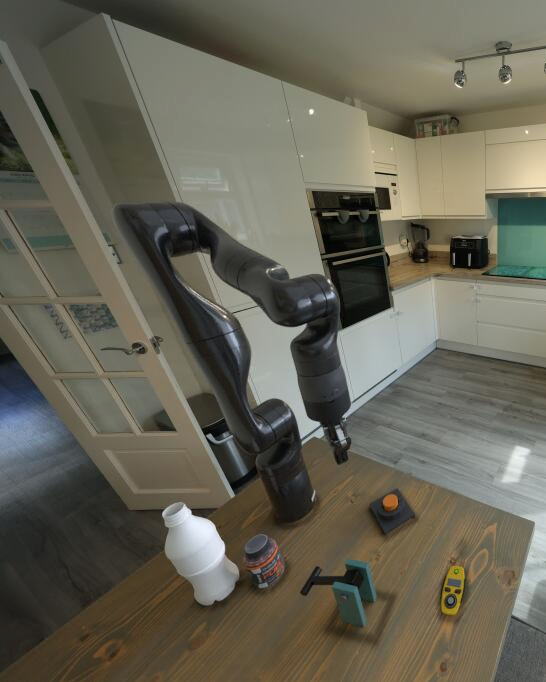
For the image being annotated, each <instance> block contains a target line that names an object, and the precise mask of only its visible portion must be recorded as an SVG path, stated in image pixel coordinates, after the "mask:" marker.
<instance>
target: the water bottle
mask: <svg viewBox="0 0 546 682" xmlns="http://www.w3.org/2000/svg"><path fill="white" fill-rule="evenodd" d="M161 516H162V518H163V521H164V526H165V527H166V528H168V532H167V534H166V535H167V536H166V539H165V543H164V553H165V556H166V558H167V559H168V560H170V562H171V564H172V565H173V567H174V568H175V569H176V572H177V574H178V575H180V576H182V577H183V578H184V579H186V580H187V581H188V582H189V583H190V584H191V586H192V587H193V590H194V593H193V598H194V599H195V601H196V602H197V603H198V604H200V605H202V606H212V605H213V604H214V603H215V601H217V602H221V601H223V600H224V599H226V598H227V597H228V596H229V595H231V593H232V592H233V591H234V590H235V587H236V582H239V580H240V570H239V568H238V565H237V564H236V563H234V562H232V561H231V560H230V559H229V558H228V557H227V555H226V544H225V542H224V540H222V538H221V536H220V535H219V532H218V530H217V528H216V525H215V524H214V522H212V521H211V520H210V519H208V518H205V517H201V516H197V515H193V514H192V510H191V509H190V508H188V507H187V505H186V503H184V502H182V501H179V502H175V503H173V504H170V505H169V506H167V507H166V508H165V509H163V511H162V512H161Z"/></svg>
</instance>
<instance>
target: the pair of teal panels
mask: <svg viewBox="0 0 546 682" xmlns="http://www.w3.org/2000/svg"><path fill="white" fill-rule="evenodd" d="M344 567H345V570H346V571H347V570H359V571H360V573H361V574H362V576H363V577H364V580H363V582H362V584H361V586H360V588H359V590H358V588H357V587H356V586H352V585H348V584H344V583H339V582H334V584H333V585H331V591H332V592H333V595H334V596H333V597H334V599H335V602H336V606H337V608H338V611H339V614H340V617H341V619H342V622H343V623H346V624H349V625H350V624H351V625H354V626H358V627H362V628H364V627H365V626H366V624H367V617H366V614H365V613H366V612H365V610H364V606H363V603H362V600H363V601H366V602H369V603H375V602H376V600H377V598H378V596H377V592H376V587H375V584H374V579H373V575H372V572H371V566H370V563H369V562H366V561H361V560H358V559H352V558H347V559H346V560H345V562H344Z"/></svg>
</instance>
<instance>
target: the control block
mask: <svg viewBox="0 0 546 682" xmlns="http://www.w3.org/2000/svg"><path fill="white" fill-rule="evenodd" d="M390 494H394V495H396V496H397V499H398V506H397V508H396V509H395V510H393V511H386V510H385V509H384V506H383V500H384V498H385V497H386V496H388V495H390ZM368 505H369V510H370V511H371V512H372V514H373V515H374V517H375V518H376V520H377V522H378V525H379V527H380V528H381V530H382V532H383V533H384V535H385V536H386V535H388V534H390V533H391V532H393V531H394V530H395V529H397V528H399V527H400V526H402V525H403V524H405V523H406V522H408V521H409V520H411V519H412V520H416V513H415V512H414V510H413V508H411V506H410V504H409V503H408V501H407V500H406V498H405V497H404V496H403V494H402V492H401V491H400V490H399V488H398V487H397V488H394V489H393V490H391V491H389V492H388V493H386V494H384V495H383V496H381V497H379V498H377V499H376V500H373V501H372V502H370V503H369V504H368Z"/></svg>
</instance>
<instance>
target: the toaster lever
mask: <svg viewBox="0 0 546 682" xmlns="http://www.w3.org/2000/svg"><path fill="white" fill-rule="evenodd" d="M322 571H323V569H322V567H321V566H319V565H316V566H315V567H314V568H313V570H312V572H311V574H310V575H309V577H308V578H307V580H305V581H306V582H305V583H304V584H303V586H302V588H301V590H300V591H299V594H300V595H302V596H303V597H307V596H308V594H309V593H310V592H311V590H312V588H313V586H333V584H334V582H339V583H344V584H348V585H352V586H356V587H357V588H358V590H359V588H360V586H361V584H362V582H363V580H364V577H363V576H362V574H361V573H360V571H359V570H346V571H345V572H344V574H343V575H320V574H321V573H322Z"/></svg>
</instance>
